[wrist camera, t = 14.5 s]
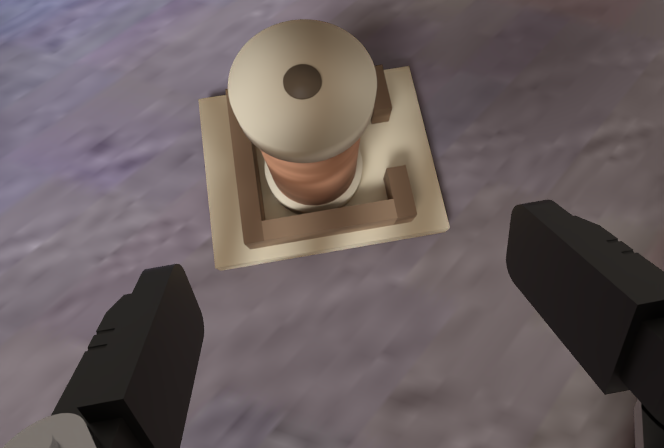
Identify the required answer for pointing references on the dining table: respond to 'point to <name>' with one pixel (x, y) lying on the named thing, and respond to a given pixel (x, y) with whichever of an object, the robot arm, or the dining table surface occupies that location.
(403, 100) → the board
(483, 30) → the dining table surface
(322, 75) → the bobbin
